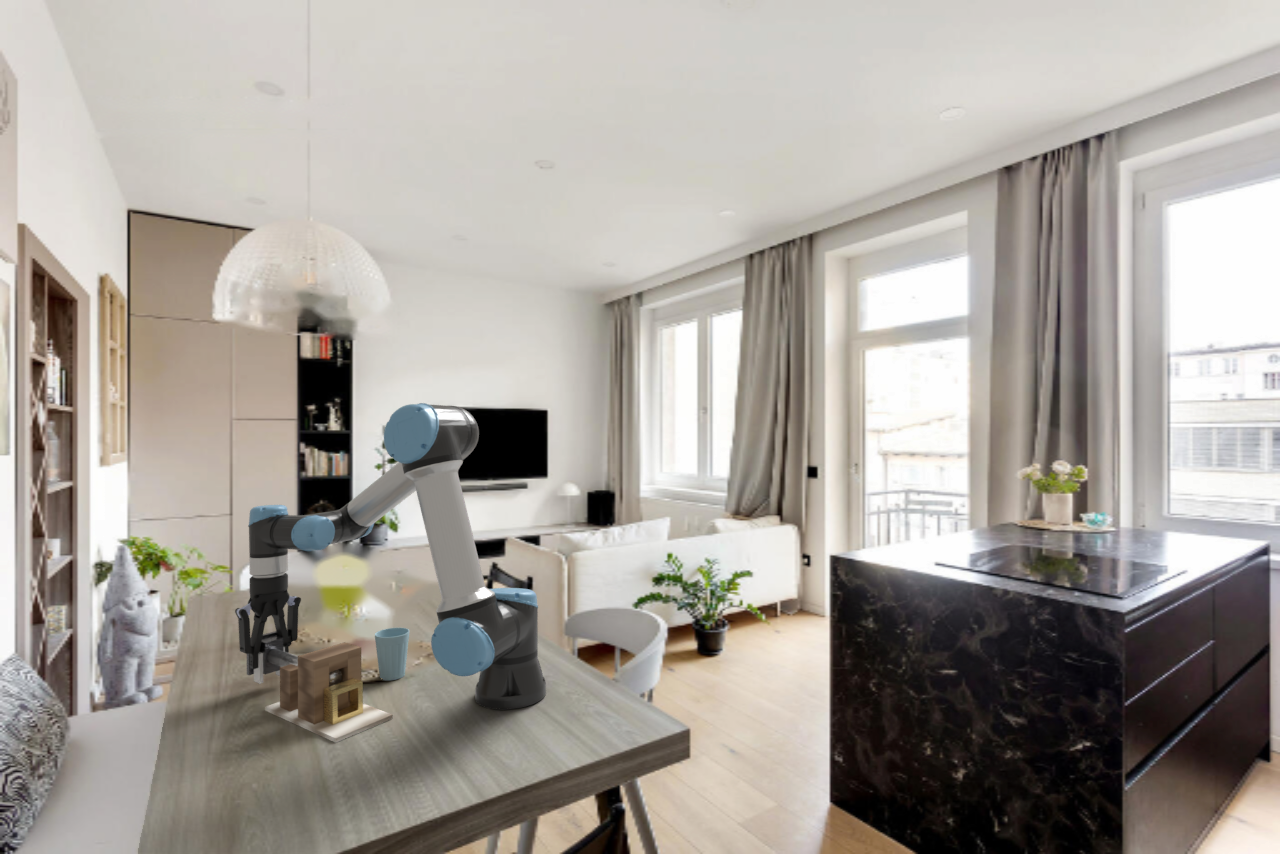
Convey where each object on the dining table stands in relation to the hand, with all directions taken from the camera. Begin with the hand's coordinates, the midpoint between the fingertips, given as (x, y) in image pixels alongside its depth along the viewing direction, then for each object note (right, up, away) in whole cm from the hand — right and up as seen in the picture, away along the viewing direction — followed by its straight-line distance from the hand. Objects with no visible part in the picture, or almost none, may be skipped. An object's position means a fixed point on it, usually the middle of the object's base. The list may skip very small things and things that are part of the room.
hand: (269, 678), depth 144 cm
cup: (+25, -3, +7) cm, 26 cm away
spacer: (+24, +2, -16) cm, 29 cm away
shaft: (+10, +2, -6) cm, 12 cm away
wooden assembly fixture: (+20, -2, -14) cm, 24 cm away
